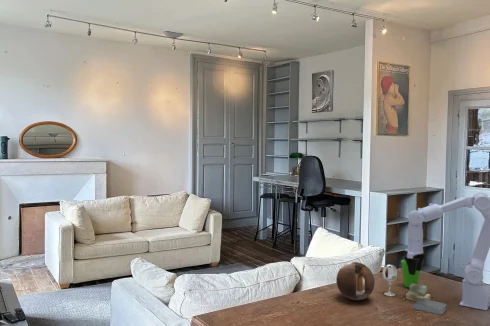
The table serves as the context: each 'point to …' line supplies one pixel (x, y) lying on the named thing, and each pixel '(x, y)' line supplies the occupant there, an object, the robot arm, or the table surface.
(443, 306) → the dock
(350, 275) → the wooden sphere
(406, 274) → the cup
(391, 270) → the wineglass
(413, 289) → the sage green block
